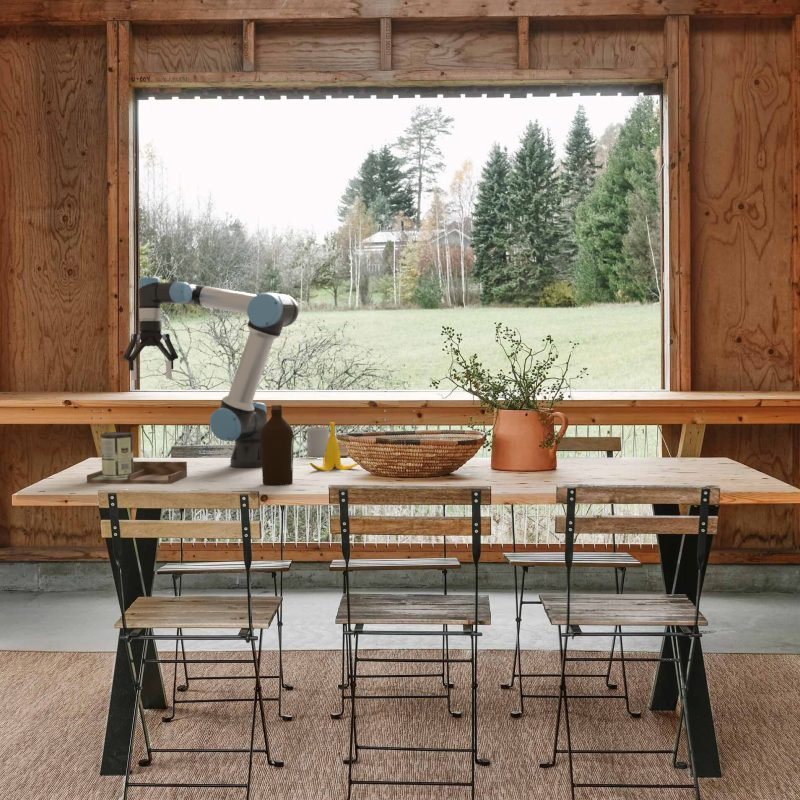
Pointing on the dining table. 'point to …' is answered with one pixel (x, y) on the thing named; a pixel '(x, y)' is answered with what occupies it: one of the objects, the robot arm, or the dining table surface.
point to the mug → (317, 441)
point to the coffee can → (117, 454)
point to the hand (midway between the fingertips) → (151, 379)
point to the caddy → (146, 473)
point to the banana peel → (332, 454)
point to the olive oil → (277, 450)
